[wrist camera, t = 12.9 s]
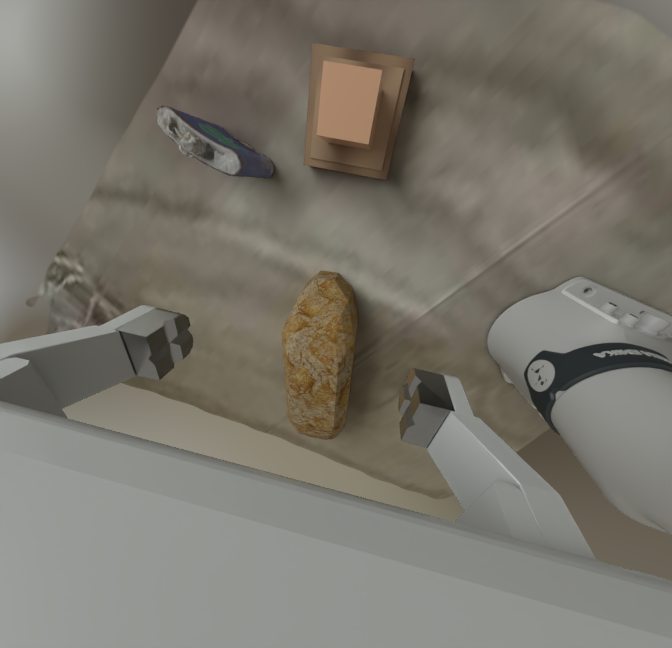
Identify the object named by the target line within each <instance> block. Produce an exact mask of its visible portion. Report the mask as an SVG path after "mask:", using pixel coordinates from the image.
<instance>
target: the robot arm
mask: <svg viewBox="0 0 672 648" xmlns="http://www.w3.org/2000/svg"><path fill="white" fill-rule="evenodd" d="M587 288H588V289H587ZM585 289H587V290H586V291H585V292H584V290H585ZM189 327H190V321H189V318H188V317H187V316H186V315H184V314H180V313H176V312H172V311H168V310H164V309H160V308H156V307H152V306H148V305H141V306H139V307H137V308H135V309H133V310H131V311H129V312H127V313H125V314H123V315H121V316H119V317H117V318H115V319H113V320H111V321H109V322H107V323H105V324H103V325H101V326H90V327H84V328H79V329H74V330H69V331H64V332H59V333H54V334H48V335H44V336H38V337H33V338H28V339H23V340H18V341H12V342H7V343H2V344H0V648H672V580H668V579H665V578H661V577H657V576H653V575H650V574H646V573H642V572H639V571H635V570H631V569H627V568H623V567H620V566H616V565H612V564H609V563H605V562H601V561H598V560H596V558H595V557H594V555H593V553H592V551H591V550H590V548H589V546H588V544H587V542H586V541H585V539H584V537H583V535H582V534H581V532H580V530H579V528H578V526H577V524H576V523H575V521H574V519H573V517H572V516H571V514H570V512H569V510H568V509H567V507H566V505H565V503H564V501H563V500H562V498H561V496H560V495H559V494H558V493H557V492H556V491H555V490H554V489H553V488H552V487H551V486H550V485H549V484H548V483H547V482H546V481H545V480H544V479H543V478H542V477H541V476H540V475H538V474H537V473H536V472H535V471H534V470H533V469H532V468H531V467H530V466H529V465H528V464H527V463H526V462H525V461H524V460H522V459H521V457H520V456H519V455H517V454H516V453H515V452H514V451H513V450H512V449H511V448H510V447H509V446H508V445H507V444H506V443H505V442H504V441H503V440H502V439H501V438H500V437H499V436H498V435H496V434H495V433H494V432H493V431H492V430H491V429H490V428H489V427H488V426H487V425H486V424H485V423H484V422H483V421H482V420H481V419H480V418H477V417H474V415H473V413H472V410H471V408H470V405H469V403H468V400H467V398H466V395H465V392H464V390H463V387H462V385H461V382H460V380H459V379H458V378H457V377H454V376H449V375H444V374H437V373H433V372H428V371H424V370H420V369H415V368H411V369H410V371H409V373H408V375H407V380H408V383H407V384H405V385H403V387H402V390H401V392H400V397H399V413H400V414H401V416H402V419H401V421H400V435H401V441H403V442H407V443H410V444H414V445H417V446H421V447H424V448H427V451H428V452H429V454H430V455H431V457H432V459H433V460H434V462H435V464H436V465H437V467H438V468H439V470H440V472H441V473H442V475H443V476H444V478H445V480H446V481H447V483H448V485H449V486H450V488H451V489H452V491H453V493H454V494H455V496H456V498H457V499H458V501H459V502H460V504H461V506H462V507H463V509H464V510H465V512H464V513H463V514H462V515H461V516H460V517H459V518H458V519H457V520H456V521H455V522H452V521H448V520H444V519H440V518H437V517H433V516H429V515H426V514H422V513H418V512H415V511H411V510H407V509H403V508H400V507H396V506H392V505H389V504H384V503H381V502H377V501H373V500H370V499H366V498H362V497H359V496H355V495H351V494H348V493H344V492H340V491H336V490H332V489H329V488H325V487H321V486H318V485H314V484H310V483H306V482H303V481H299V480H295V479H292V478H288V477H284V476H280V475H276V474H273V473H269V472H265V471H262V470H258V469H254V468H251V467H247V466H243V465H239V464H236V463H232V462H228V461H224V460H221V459H217V458H213V457H209V456H206V455H202V454H198V453H194V452H191V451H187V450H183V449H179V448H176V447H172V446H168V445H164V444H161V443H157V442H153V441H149V440H146V439H142V438H138V437H134V436H131V435H127V434H123V433H120V432H116V431H112V430H108V429H105V428H101V427H97V426H94V425H90V424H86V423H82V422H79V421H75V420H71V419H68V418H67V416H66V415H65V413H64V412H63V410H62V409H63V408H65V407H67V406H69V405H72V404H74V403H76V402H78V401H81V400H83V399H85V398H88V397H90V396H92V395H94V394H96V393H99V392H101V391H103V390H106V389H108V388H110V387H112V386H115V385H117V384H119V383H122V382H124V381H126V380H128V379H131V378H133V377H135V376H136V375H138V376H143V377H147V378H152V379H156V380H160V379H162V378H163V377H164V376H165V375H166V374H167V373H168V372H170V371H171V370H172V369H173V368H174V364H175V362H177V361H180V360H183V359H184V358H185V357H186V356H187V355H188V354H189V353H190V351H191V349H192V347H193V336H192V334H191V333H190V332H189V331H188V328H189ZM487 345H488V350H489V353H490V355H491V356H492V358H493V359H494V360H495V361H496V362H497V363H498V364H499V366H500V369H501V374H502V377H503V378H504V379H505V381H506V382H508V383H512V384H514V385H515V386H516V388H517V389H518V390H519V391H520V393H521V394H522V395H523V396H524V397H525V399H526V400H527V401H528V402H529V403H530V404H531V406H532V407H534V408H535V409H537V410H538V411H539V412H538V413H539V414H540V416H541V417H542V418H543V420H544V421H545V422H547V424H548V425H549V426H550V427H551V429H552V430H554V431H555V432H556V433H558V434H559V435H561V436H562V438H563V439H564V441H565V442H566V444H567V445H568V446H569V448H570V449H571V451H572V452H573V454H574V455H575V457H576V458H577V459H578V461H579V462H580V464H581V465H582V467H583V468H584V469H585V471H586V472H587V474H588V475H589V477H590V478H591V479H592V481H593V482H594V484H595V485H596V487H597V488H598V490H599V491H600V492H601V494H602V495H603V496H604V498H606V500H607V501H608V502H609V503H610V504H612V506H614V507H615V508H616V509H618V510H619V511H620V512H622V513H623V514H625V515H626V516H628V517H629V518H632V519H634V520H635V521H637V522H639V523H641V524H644V525H646V526H649V527H652V528H654V529H657V530H660V531H663V532H666V533H669V534H670V535H671V536H672V316H671V315H669V314H667V313H665V312H663V311H661V310H658V309H656V308H654V307H651V306H649V305H647V304H645V303H642V302H640V301H638V300H635V299H633V298H631V297H629V296H626V295H624V294H622V293H619V292H617V291H615V290H613V289H610V288H608V287H606V286H603V285H601V284H599V283H597V282H594V281H592V280H590V279H587V278H585V277H576V278H573V279H571V280H569V281H567V282H565V283H563V284H562V285H560V286H558V287H557V288H555V289H553V290H550V291H547V292H544V293H540V294H537V295H533V296H531V297H528V298H526V299H523V300H521V301H519V302H517V303H516V304H514V305H512V306H511V307H510V308H508V309H507V310H506V311H504V312H503V313H502V314H501V315H500V316H499V317H498V319H497V320H496V321H495V322H494V324H493V325H492V327H491V329H490V332H489V335H488V340H487Z"/></svg>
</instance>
